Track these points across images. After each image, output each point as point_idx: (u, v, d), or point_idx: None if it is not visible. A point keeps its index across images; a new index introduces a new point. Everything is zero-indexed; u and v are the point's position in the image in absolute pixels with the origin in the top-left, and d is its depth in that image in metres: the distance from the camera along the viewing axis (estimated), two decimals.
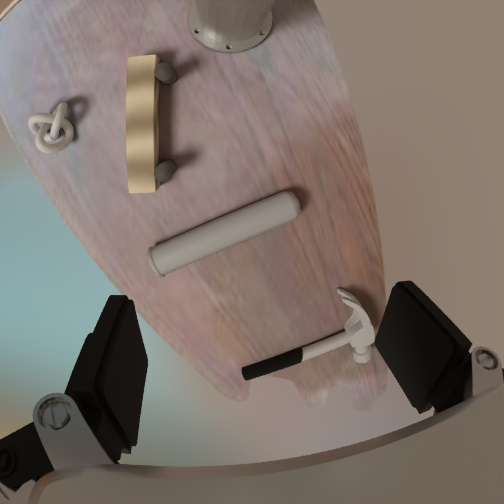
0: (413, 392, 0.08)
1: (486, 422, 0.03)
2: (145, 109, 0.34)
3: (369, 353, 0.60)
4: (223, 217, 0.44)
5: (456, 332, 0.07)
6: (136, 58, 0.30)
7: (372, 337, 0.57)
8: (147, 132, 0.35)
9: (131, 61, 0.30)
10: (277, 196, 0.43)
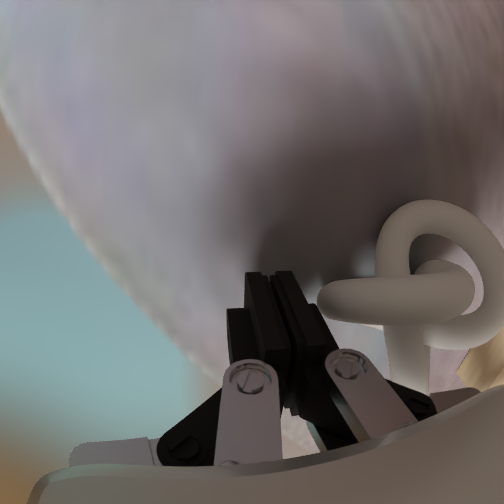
0: None
1: (486, 422, 0.03)
2: None
3: None
4: None
5: (311, 328, 0.07)
6: None
7: None
8: None
9: None
10: None
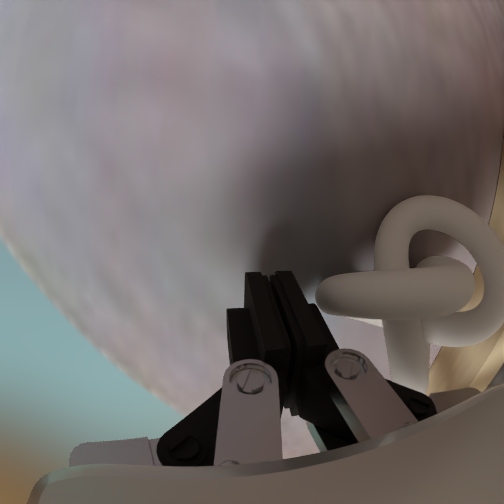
0: None
1: (486, 422, 0.03)
2: None
3: None
4: None
5: (311, 328, 0.07)
6: None
7: None
8: None
9: None
10: None
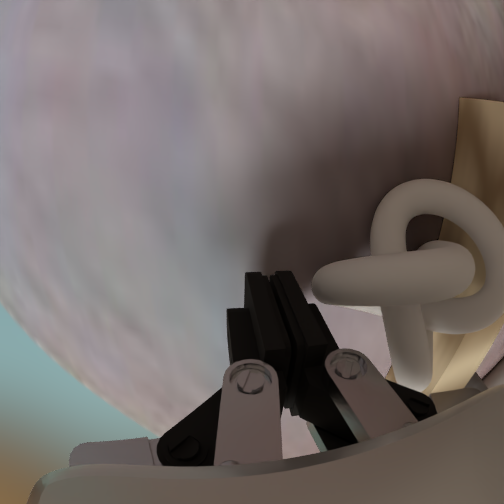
0: None
1: (486, 422, 0.03)
2: None
3: None
4: None
5: (311, 328, 0.07)
6: None
7: None
8: (490, 337, 0.11)
9: None
10: None
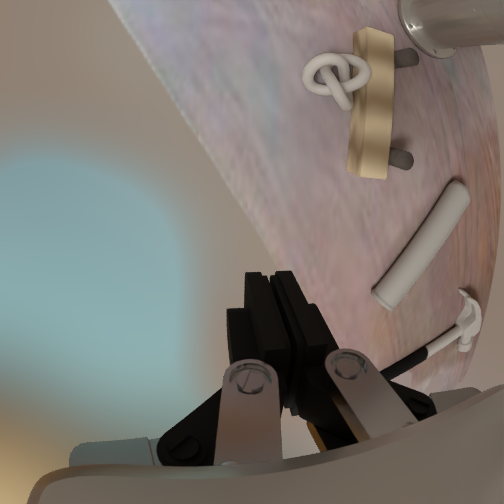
0: None
1: (486, 422, 0.03)
2: (386, 88, 0.28)
3: None
4: (422, 232, 0.40)
5: (312, 328, 0.07)
6: (376, 31, 0.25)
7: (479, 327, 0.52)
8: (387, 113, 0.30)
9: (371, 32, 0.25)
10: (452, 191, 0.37)
